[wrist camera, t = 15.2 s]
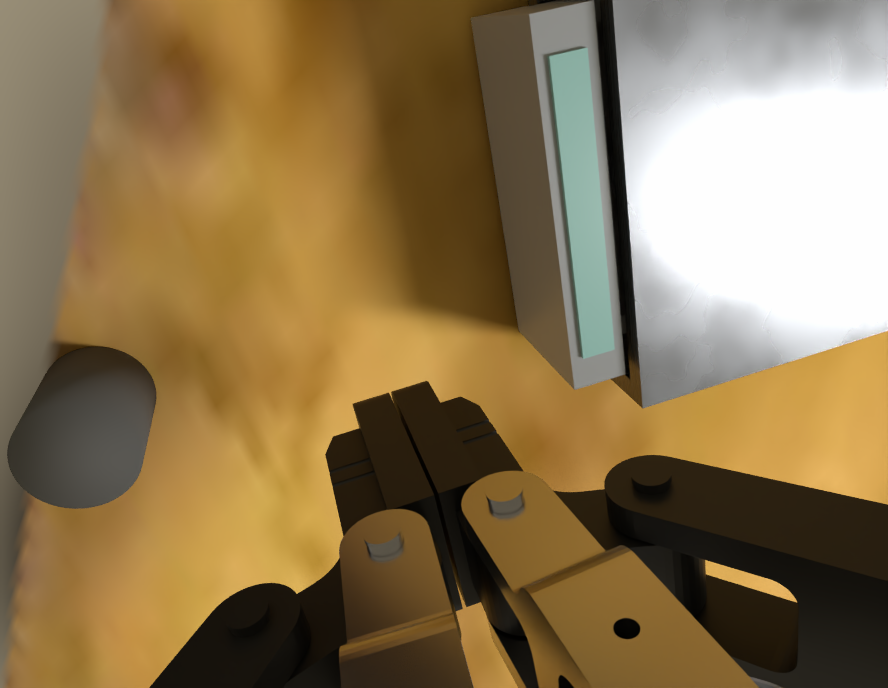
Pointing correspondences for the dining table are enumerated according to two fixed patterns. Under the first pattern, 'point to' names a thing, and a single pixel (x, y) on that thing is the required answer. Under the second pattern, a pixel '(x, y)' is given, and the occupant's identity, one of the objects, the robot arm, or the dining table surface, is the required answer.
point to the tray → (556, 181)
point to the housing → (746, 183)
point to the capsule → (84, 429)
